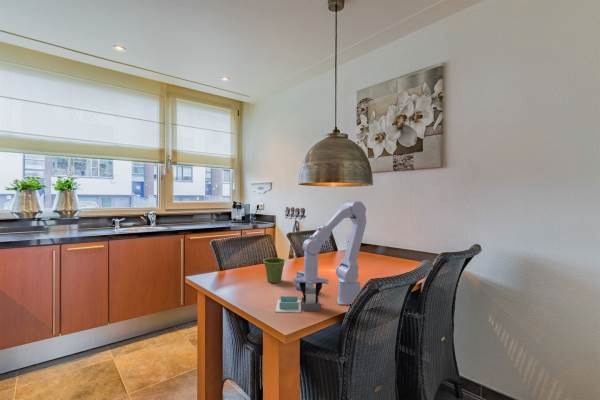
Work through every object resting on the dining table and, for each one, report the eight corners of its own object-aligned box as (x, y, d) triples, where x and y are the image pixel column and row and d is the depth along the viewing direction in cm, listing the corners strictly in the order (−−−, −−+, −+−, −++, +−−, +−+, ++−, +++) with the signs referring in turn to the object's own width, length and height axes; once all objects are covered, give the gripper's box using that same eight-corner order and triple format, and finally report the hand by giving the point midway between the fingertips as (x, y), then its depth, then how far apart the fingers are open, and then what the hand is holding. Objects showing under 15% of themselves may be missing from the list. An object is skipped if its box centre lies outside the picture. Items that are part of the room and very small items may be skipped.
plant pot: (258, 282, 158) (258, 261, 158) (271, 277, 168) (271, 257, 168) (277, 286, 152) (277, 263, 152) (289, 280, 163) (289, 259, 163)
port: (300, 300, 132) (300, 294, 132) (300, 312, 119) (300, 305, 119) (277, 300, 132) (277, 293, 132) (275, 312, 119) (275, 305, 119)
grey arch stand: (318, 303, 130) (318, 297, 130) (319, 310, 121) (319, 304, 121) (301, 302, 130) (301, 297, 130) (301, 310, 121) (301, 304, 121)
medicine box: (295, 289, 148) (295, 271, 148) (302, 287, 151) (302, 270, 151) (307, 293, 142) (307, 275, 142) (313, 291, 145) (314, 273, 145)
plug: (315, 303, 128) (315, 287, 127) (315, 307, 124) (315, 290, 123) (305, 303, 128) (305, 287, 127) (305, 307, 124) (305, 290, 123)
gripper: (293, 270, 121) (292, 304, 121) (329, 270, 121) (328, 304, 121) (293, 266, 128) (293, 297, 129) (327, 266, 128) (327, 298, 129)
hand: (310, 300), depth 125 cm, fingers closed on plug, 4 cm apart
